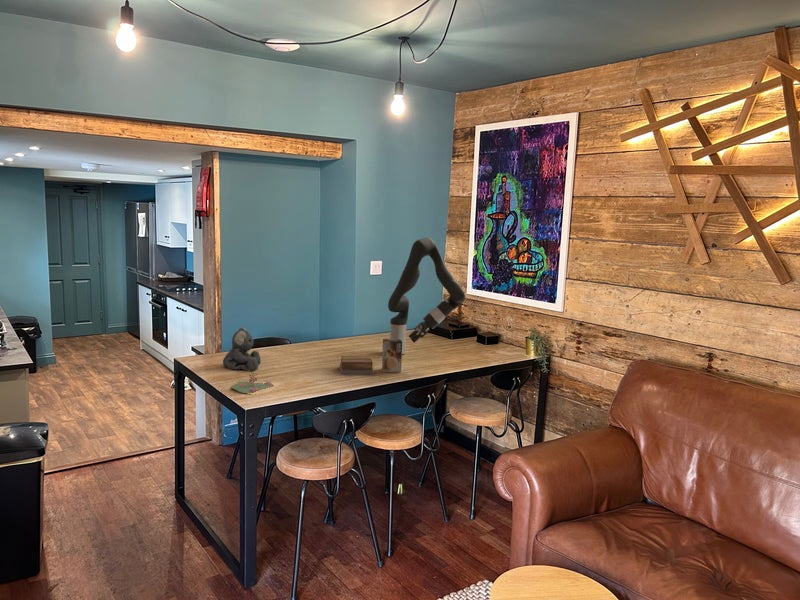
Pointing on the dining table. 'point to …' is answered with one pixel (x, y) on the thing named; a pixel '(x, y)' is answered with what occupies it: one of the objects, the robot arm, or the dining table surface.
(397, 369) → the coffee box
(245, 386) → the plant
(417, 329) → the robot arm
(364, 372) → the baseplate
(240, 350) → the koala plush
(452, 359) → the dining table surface
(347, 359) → the walnut brick
